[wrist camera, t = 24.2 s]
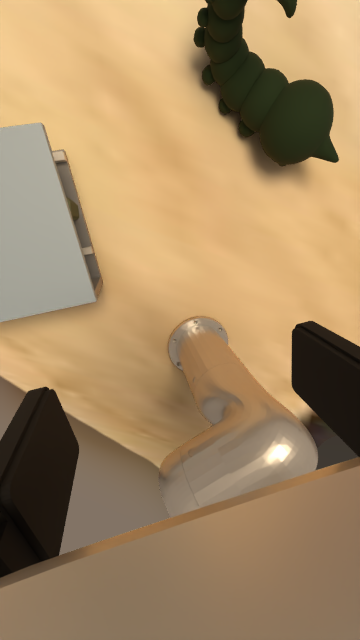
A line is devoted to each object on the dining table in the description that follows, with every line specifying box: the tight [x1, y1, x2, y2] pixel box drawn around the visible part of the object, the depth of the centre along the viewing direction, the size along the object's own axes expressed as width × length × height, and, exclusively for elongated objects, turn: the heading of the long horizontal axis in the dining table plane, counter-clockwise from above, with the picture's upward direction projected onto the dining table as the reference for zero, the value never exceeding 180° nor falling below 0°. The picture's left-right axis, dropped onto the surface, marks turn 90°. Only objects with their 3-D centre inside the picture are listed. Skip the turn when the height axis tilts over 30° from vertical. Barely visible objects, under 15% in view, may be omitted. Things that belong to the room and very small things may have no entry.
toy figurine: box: [194, 0, 339, 166], centre depth 32 cm, size 9×19×25 cm
